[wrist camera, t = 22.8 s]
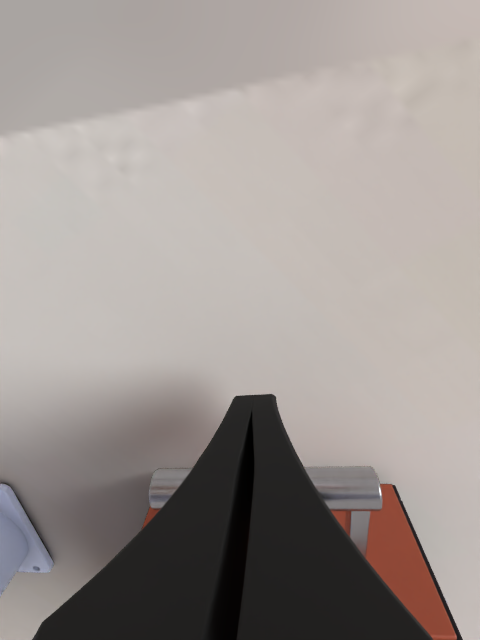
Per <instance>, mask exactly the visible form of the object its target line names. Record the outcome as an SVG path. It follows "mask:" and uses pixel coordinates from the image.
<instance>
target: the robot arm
mask: <svg viewBox="0 0 480 640" xmlns="http://www.w3.org/2000/svg"><path fill="white" fill-rule="evenodd" d="M53 566H54V563H53V561H52V559H51V557H50V555H49V554H48V552H47V550H46V548H45V546H44V545H43V543H42V541H41V539H40V538H39V536H38V534H37V532H36V531H35V529H34V527H33V525H32V524H31V522H30V520H29V518H28V517H27V515H26V513H25V511H24V509H23V508H22V506H21V504H20V502H19V501H18V499H17V497H16V495H15V494H14V492H13V490H12V489H11V487H9V486H8V485H6V484H0V596H1V595H2V593H3V592H4V590H5V589H6V587H7V586H8V584H9V583H10V581H11V580H12V578H13V576H14V575H15V573H16V572H39V573H48V572H50V571H51V569H52V567H53ZM32 640H433V638H432V637H431V636H430V634H429V633H428V632H427V631H426V630H425V629H424V627H423V626H422V625H421V624H420V623H419V622H418V621H417V619H416V618H415V617H414V616H413V615H412V614H411V613H410V611H409V610H408V609H407V608H406V607H405V606H404V604H403V603H402V602H401V601H400V600H399V599H398V597H397V596H396V595H395V594H394V593H393V591H392V590H391V589H390V588H389V587H388V585H387V584H386V583H385V582H384V581H383V579H382V578H381V577H380V576H379V574H378V573H377V572H376V571H375V569H374V568H373V567H372V566H371V564H370V563H369V562H368V561H367V559H366V558H365V557H364V556H363V554H362V553H361V552H360V550H359V549H358V548H357V546H356V545H355V543H354V542H353V541H352V539H351V538H350V537H349V535H348V534H347V533H346V531H345V530H344V529H343V527H342V526H341V525H340V523H339V522H338V521H337V519H336V518H335V516H334V515H333V513H332V512H331V510H330V509H329V507H328V506H327V504H326V503H325V501H324V500H323V498H322V497H321V495H320V494H319V492H318V490H317V489H316V487H315V486H314V484H313V482H312V481H311V479H310V477H309V476H308V474H307V472H306V470H305V469H304V467H303V465H302V463H301V461H300V459H299V457H298V456H297V454H296V452H295V450H294V448H293V446H292V443H291V441H290V439H289V437H288V435H287V432H286V430H285V428H284V425H283V423H282V420H281V417H280V414H279V411H278V407H277V403H276V397H275V396H274V395H273V394H265V395H245V396H236V397H235V398H234V399H233V401H232V403H231V405H230V407H229V409H228V411H227V413H226V415H225V417H224V419H223V421H222V423H221V424H220V426H219V428H218V430H217V431H216V433H215V435H214V436H213V438H212V440H211V441H210V443H209V445H208V446H207V448H206V449H205V451H204V452H203V454H202V455H201V457H200V458H199V460H198V461H197V463H196V464H195V466H194V467H193V469H192V470H191V471H190V473H189V474H188V475H187V477H186V478H185V479H184V481H183V482H182V483H181V485H180V486H179V487H178V488H177V490H176V491H175V492H174V493H173V495H172V496H171V497H170V498H169V500H168V501H167V502H166V503H165V504H164V505H163V507H162V508H161V509H160V510H159V511H158V512H157V513H156V515H155V516H154V517H153V518H152V519H151V520H150V521H149V523H148V524H147V525H146V526H145V527H144V528H143V529H142V530H141V531H140V532H139V533H138V534H137V535H136V536H135V537H134V538H133V539H132V540H131V541H130V542H129V543H128V544H127V545H126V546H125V547H124V548H123V549H122V550H121V551H120V552H119V553H118V554H117V555H116V556H115V557H114V558H113V559H112V560H111V561H110V562H109V563H108V564H107V565H106V566H105V567H104V568H103V569H102V570H101V571H100V572H99V573H98V574H97V575H96V576H95V577H93V578H92V579H91V580H90V581H89V582H88V583H87V584H86V585H84V586H83V587H82V588H81V589H80V590H79V591H78V592H77V593H75V594H74V595H73V596H72V597H71V598H70V599H69V600H67V601H66V602H65V603H64V604H63V605H62V606H61V607H60V608H58V609H57V610H56V611H55V612H54V613H53V614H52V615H50V616H49V617H48V618H47V619H46V620H44V621H43V622H42V624H41V626H40V627H39V629H38V631H37V633H36V634H35V636H34V638H33V639H32Z"/></svg>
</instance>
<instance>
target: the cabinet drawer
mask: <svg viewBox="0 0 480 640" xmlns="http://www.w3.org/2000/svg"><path fill="white" fill-rule="evenodd" d="M192 469H193V468H159V469H157V470H156V471H155V472H154V474H153V476H152V479H151V483H150V488H149V503H150V508H149V511H148V513H147V516H146V519H145V522H144V524H143V527H142V529H143V528H144V527H145V526H146V525H147V524H148V523H149V521H150V520H151V519H152V518H153V517H154V516H155V515H156V513H157V512H158V511H159V510H160V509H161V508H162V507H163V505H164V504H165V503H166V502H167V501H168V500H169V498H170V497H171V496H172V495H173V493H174V492H175V491H176V490H177V488H178V487H179V486H180V485H181V483H182V482H183V481H184V479H185V478H186V477H187V475H188V474H189V473H190V471H191V470H192ZM304 469H305V470H306V472H307V474H308V476H309V477H310V479H311V481H312V482H313V484H314V486H315V487H316V489H317V490H318V492H319V494H320V495H321V497H322V498H323V500H324V501H325V503H326V504H327V506H328V507H329V509H330V510H331V512H332V513H333V515H334V516H335V518H336V519H337V521H338V522H339V523H340V525H341V526H342V527H343V529H344V530H345V531H346V533H347V534H348V535H349V537H350V538H351V539H352V541H353V542H354V543H355V545H356V546H357V548H358V549H359V550H360V552H361V553H362V554H363V556H364V557H365V558H366V559H367V561H368V562H369V563H370V564H371V566H372V567H373V568H374V569H375V571H376V572H377V573H378V574H379V576H380V577H381V578H382V579H383V581H384V582H385V583H386V584H387V585H388V587H389V588H390V589H391V590H392V591H393V593H394V594H395V595H396V596H397V597H398V599H399V600H400V601H401V602H402V603H403V604H404V606H405V607H406V608H407V609H408V610H409V611H410V613H411V614H412V615H413V616H414V617H415V618H416V619H417V621H418V622H419V623H420V624H421V625H422V626H423V627H424V629H425V630H426V631H427V632H428V633H429V634H430V636H431V637H432V638H433V640H456V639H457V636H456V634H455V631H454V629H453V627H452V624H451V622H450V620H449V617H448V615H447V613H446V610H445V608H444V606H443V603H442V601H441V599H440V596H439V594H438V592H437V589H436V587H435V585H434V582H433V580H432V578H431V575H430V573H429V571H428V568H427V566H426V564H425V561H424V559H423V557H422V554H421V552H420V550H419V547H418V545H417V543H416V540H415V538H414V536H413V533H412V531H411V529H410V526H409V524H408V522H407V519H406V517H405V515H404V512H403V510H402V508H401V505H400V503H399V501H398V498H397V496H396V494H395V491H394V489H393V487H392V485H391V484H380V482H379V479H378V476H377V474H376V472H375V470H374V468H373V467H371V466H349V467H304Z"/></svg>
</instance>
